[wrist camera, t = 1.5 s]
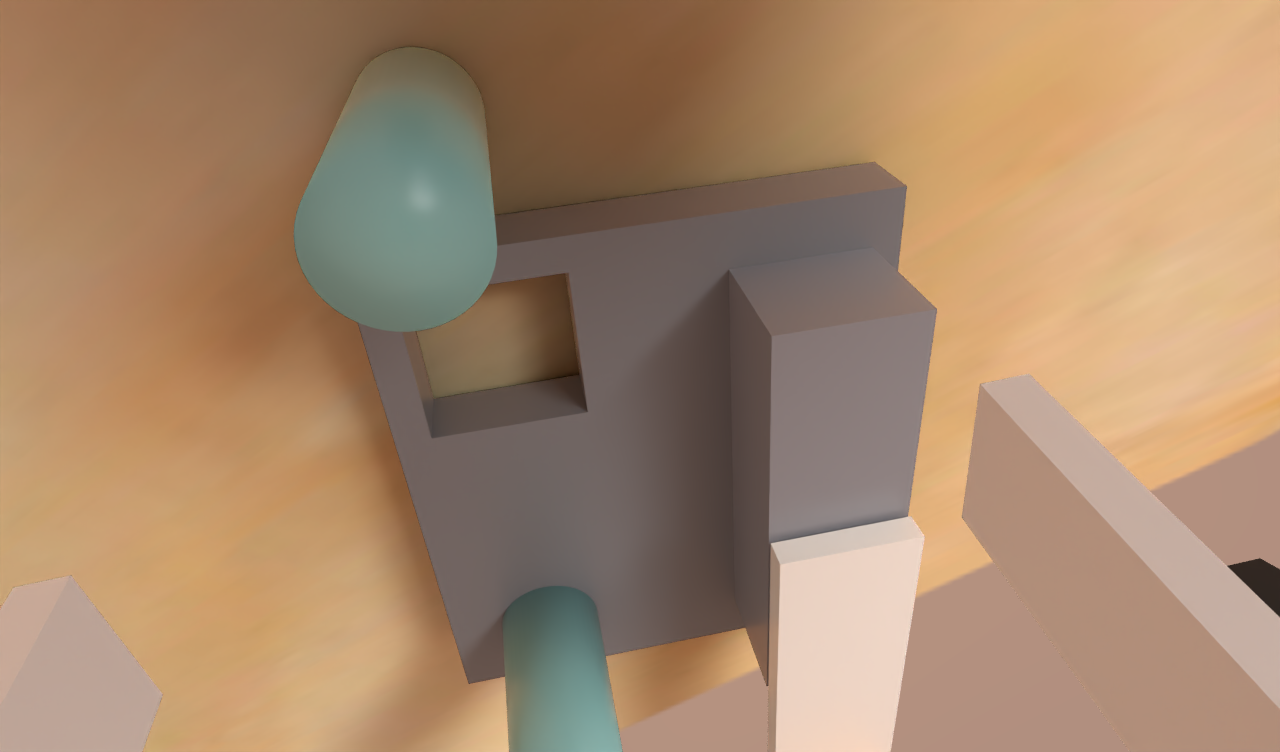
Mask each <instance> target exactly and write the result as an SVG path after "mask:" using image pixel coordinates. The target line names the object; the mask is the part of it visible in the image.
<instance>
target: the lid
mask: <svg viewBox="0 0 1280 752" xmlns="http://www.w3.org/2000/svg"><path fill="white" fill-rule="evenodd" d="M924 538H925V536H924V535H923V533H922V532H921V530H920V529H919V527H918V526H917V524H916V523H915V521H914V520H913V518H912V517H911V516H910V517H905V518H899V519H894V520H889V521H884V522H879V523H874V524H868V525H863V526H858V527H853V528H848V529H842V530H837V531H832V532H827V533H822V534H816V535H811V536H806V537H801V538H796V539H790V540H785V541H780V542H775V543H771V556H770V619H769V681H768V745H767V746H768V747H767V752H890V751H891V745H892V739H893V732H894V726H895V720H896V713H897V707H898V701H899V695H900V688H901V682H902V675H903V670H904V663H905V657H906V651H907V644H908V638H909V632H910V626H911V620H912V619H911V618H912V613H913V606H914V601H915V594H916V588H917V582H918V576H919V569H920V563H921V557H922V551H923V544H924Z"/></svg>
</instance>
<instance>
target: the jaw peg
mask: <svg viewBox="0 0 1280 752" xmlns="http://www.w3.org/2000/svg"><path fill="white" fill-rule="evenodd" d="M294 244H295V251H296V254H297V258H298V262H299V264H300V266H301V269H302V271H303V273H304V275H305V277H306V278H307V280H308V282H309V284H310V285H311V286H312V287H313V289H314V290H315V291H316V293H317V294H318V295H319V296H320V297H321V298H322V299H323V300H324V301H325V302H326V303H327V304H329V305H330V306H331V307H332V308H334V309H335V310H336V311H338V312H339V313H341V314H342V315H344V316H346V317H347V318H349V319H351V320H353V321H356V322H358V323H360V324H363V325H366V326H369V327H372V328H376V329H380V330H386V331H394V332H411V331H421V330H425V329H430V328H434V327H437V326H440V325H443V324H445V323H447V322H449V321H451V320H453V319H455V318H457V317H458V316H460V315H461V314H463V313H464V312H465V311H467V310H468V309H469V308H470V307H471V306H472V305H473V304H474V303H475V302H476V301H477V300H478V299H479V298H480V297H481V295H482V294H483V292H484V291H485V289H486V288H487V286H488V284H489V282H490V280H491V277H492V274H493V271H494V268H495V264H496V258H497V237H496V226H495V215H494V204H493V193H492V182H491V171H490V160H489V149H488V138H487V128H486V117H485V108H484V104H483V100H482V97H481V94H480V92H479V90H478V88H477V86H476V84H475V82H474V81H473V79H472V78H471V77H470V75H469V74H468V73H467V72H466V71H465V70H464V69H463V68H462V67H461V66H460V65H459V64H458V63H456V62H455V61H454V60H452V59H451V58H449V57H447V56H445V55H443V54H441V53H439V52H436V51H433V50H430V49H426V48H420V47H403V48H398V49H393V50H391V51H388V52H385V53H383V54H381V55H379V56H378V57H376V58H375V59H374V60H372V61H371V62H370V63H369V64H368V65H367V66H366V67H365V68H364V69H363V71H362V72H361V73H360V75H359V77H358V78H357V80H356V82H355V84H354V86H353V89H352V91H351V93H350V95H349V97H348V99H347V102H346V104H345V106H344V108H343V110H342V113H341V115H340V117H339V119H338V121H337V123H336V126H335V128H334V130H333V132H332V134H331V136H330V139H329V141H328V143H327V145H326V147H325V149H324V152H323V154H322V156H321V158H320V160H319V163H318V165H317V167H316V169H315V171H314V173H313V176H312V178H311V180H310V182H309V184H308V186H307V189H306V191H305V193H304V195H303V197H302V199H301V202H300V205H299V207H298V210H297V213H296V218H295V223H294Z"/></svg>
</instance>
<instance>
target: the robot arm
mask: <svg viewBox="0 0 1280 752" xmlns="http://www.w3.org/2000/svg"><path fill="white" fill-rule="evenodd" d="M962 518H963V520H964V521H965V523H966V524H967V525H968V527H969V528H970V530H971V531H972V532H973V534H974V535H975V537H976V538H977V539H978V541H979V542H980V544H981V545H982V546H983V548H984V549H985V550H986V552H987V553H988V555H989V556H990V557H991V559H992V560H993V562H994V563H995V564H996V566H997V567H998V569H999V570H1000V571H1001V573H1002V574H1003V576H1004V577H1005V578H1006V580H1007V581H1008V583H1009V584H1010V585H1011V587H1012V588H1013V590H1014V591H1015V592H1016V594H1017V595H1018V597H1019V598H1020V599H1021V601H1022V602H1023V604H1024V605H1025V606H1026V608H1027V609H1028V610H1029V612H1030V613H1031V615H1032V616H1033V618H1034V619H1035V620H1036V622H1037V623H1038V624H1039V626H1040V627H1041V629H1042V630H1043V632H1044V633H1045V634H1046V635H1047V637H1048V638H1049V640H1050V641H1051V643H1052V644H1053V645H1054V647H1055V648H1056V649H1057V651H1058V652H1059V654H1060V655H1061V657H1062V658H1063V659H1064V661H1065V662H1066V664H1067V665H1068V666H1069V668H1070V669H1071V671H1072V672H1073V673H1074V675H1075V676H1076V678H1077V679H1078V680H1079V682H1080V683H1081V685H1082V686H1083V687H1084V689H1085V690H1086V691H1087V693H1088V694H1089V696H1090V697H1091V699H1092V700H1093V701H1094V703H1095V704H1096V705H1097V707H1098V708H1099V710H1100V711H1101V712H1102V714H1103V715H1104V717H1105V718H1106V719H1107V721H1108V722H1109V724H1110V725H1111V726H1112V728H1113V729H1114V731H1115V732H1116V733H1117V735H1118V736H1119V737H1120V739H1121V740H1122V742H1123V743H1124V745H1125V746H1126V747H1127V749H1128V750H1129V751H1130V752H1280V569H1278V568H1276V567H1275V566H1273V565H1271V564H1269V563H1267V562H1266V561H1264V560H1262V559H1255V560H1251V561H1247V562H1242V563H1238V564H1234V565H1230V566H1226V565H1225V564H1224V563H1223V562H1222V561H1221V560H1220V559H1219V558H1218V557H1217V556H1216V555H1215V554H1214V553H1213V552H1212V551H1211V550H1210V549H1209V548H1208V547H1207V546H1206V545H1205V544H1204V543H1203V542H1202V541H1201V540H1199V538H1197V537H1196V536H1195V535H1194V534H1193V533H1192V532H1191V531H1190V530H1189V529H1188V528H1187V527H1186V526H1185V525H1184V524H1183V523H1182V522H1181V521H1180V520H1179V519H1178V518H1177V517H1176V516H1175V515H1174V514H1173V513H1172V512H1171V511H1170V510H1169V509H1168V508H1167V507H1166V506H1164V505H1163V504H1162V503H1161V502H1160V501H1159V500H1158V499H1157V498H1156V497H1155V496H1154V495H1153V494H1152V493H1151V492H1150V491H1149V490H1148V489H1147V488H1146V487H1145V486H1144V485H1143V484H1142V483H1141V482H1140V481H1139V480H1138V479H1137V478H1136V477H1135V476H1134V475H1133V474H1132V473H1131V472H1130V471H1128V470H1127V469H1126V468H1125V467H1124V466H1123V465H1122V464H1121V463H1120V462H1119V461H1118V460H1117V459H1116V458H1115V457H1114V456H1113V455H1112V454H1111V453H1110V452H1109V451H1108V450H1107V449H1106V448H1105V447H1104V446H1103V445H1102V444H1101V443H1100V442H1099V441H1098V440H1097V439H1096V438H1094V437H1093V436H1092V435H1091V434H1090V433H1089V432H1088V431H1087V430H1086V429H1085V428H1084V427H1083V426H1082V425H1081V424H1080V423H1079V422H1078V421H1077V420H1076V419H1075V418H1074V417H1073V416H1072V415H1071V414H1070V413H1069V412H1068V411H1067V410H1066V409H1065V408H1064V407H1063V406H1062V405H1060V404H1059V403H1058V402H1057V401H1056V400H1055V399H1054V398H1053V397H1052V396H1051V395H1050V394H1049V393H1048V392H1047V391H1046V390H1045V389H1044V388H1043V387H1042V386H1041V385H1040V384H1039V383H1038V382H1037V381H1036V380H1035V379H1034V378H1033V377H1032V376H1031V375H1030V374H1026V375H1021V376H1016V377H1011V378H1007V379H1002V380H997V381H992V382H988V383H983V384H980V388H979V395H978V403H977V410H976V417H975V424H974V432H973V439H972V446H971V454H970V461H969V468H968V475H967V483H966V490H965V497H964V505H963V512H962ZM162 696H163V694H162V693H161V691H160V690H159V689H158V687H157V686H156V685H155V684H154V682H153V681H152V680H151V678H150V677H149V676H148V674H147V673H146V672H145V671H144V669H143V668H142V667H141V665H140V664H139V663H138V661H137V660H136V659H135V658H134V656H133V655H132V654H131V652H130V651H129V650H128V649H127V647H126V646H125V645H124V643H123V642H122V641H121V639H120V638H119V637H118V636H117V634H116V633H115V632H114V630H113V629H112V628H111V626H110V625H109V624H108V623H107V621H106V620H105V619H104V617H103V616H102V615H101V614H100V612H99V611H98V610H97V608H96V607H95V606H94V604H93V603H92V602H91V601H90V599H89V598H88V597H87V595H86V594H85V593H84V591H83V590H82V589H81V588H80V586H79V585H78V584H77V582H76V581H75V580H74V578H73V577H72V576H71V575H70V576H65V577H60V578H56V579H51V580H46V581H41V582H37V583H32V584H27V585H22V586H18V587H13V589H12V590H11V592H10V594H9V595H8V597H7V599H6V600H5V602H4V604H3V605H2V607H1V609H0V752H143V749H144V746H145V743H146V740H147V738H148V735H149V732H150V729H151V727H152V724H153V721H154V718H155V715H156V713H157V710H158V707H159V704H160V701H161V699H162Z"/></svg>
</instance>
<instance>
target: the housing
mask: <svg viewBox="0 0 1280 752" xmlns="http://www.w3.org/2000/svg"><path fill="white" fill-rule="evenodd" d="M906 189H907V186H906V185H905V184H903V183H902V182H901V181H899V180H898V179H897V178H895V177H894V176H893V175H891V174H890V173H889V172H887V171H886V170H885V169H883V168H882V167H881V166H879V165H878V164H877V163H875V162H871V163H864V164H857V165H850V166H843V167H836V168H829V169H822V170H815V171H808V172H801V173H793V174H786V175H779V176H772V177H765V178H758V179H751V180H744V181H737V182H730V183H723V184H716V185H709V186H702V187H694V188H687V189H680V190H673V191H666V192H659V193H652V194H645V195H638V196H631V197H624V198H617V199H610V200H603V201H595V202H588V203H581V204H574V205H567V206H560V207H553V208H546V209H539V210H532V211H525V212H518V213H511V214H504V215H496V216H495V226H496V237H497V258H496V264H495V268H494V271H493V274H492V277H491V280H490V282H489V284H496V283H503V282H509V281H516V280H522V279H529V278H536V277H542V276H549V275H556V274H562V273H565V276H566V283H567V290H568V297H569V304H570V311H571V318H572V325H573V332H574V340H575V347H576V354H577V361H578V368H579V375H575V376H569V377H563V378H557V379H551V380H545V381H539V382H533V383H527V384H521V385H515V386H509V387H503V388H497V389H490V390H484V391H478V392H472V393H466V394H460V395H454V396H448V397H442V398H436V399H434V398H433V394H432V391H431V387H430V383H429V379H428V375H427V372H426V368H425V364H424V360H423V356H422V353H421V349H420V345H419V341H418V338H417V334H416V331H411V332H394V331H386V330H380V329H376V328H372V327H369V326H366V325H363V324H360V323H358V326H359V329H360V332H361V335H362V339H363V342H364V345H365V348H366V352H367V355H368V358H369V361H370V365H371V368H372V371H373V374H374V378H375V381H376V384H377V387H378V391H379V394H380V397H381V400H382V404H383V407H384V410H385V413H386V417H387V420H388V423H389V426H390V430H391V433H392V436H393V439H394V443H395V446H396V449H397V452H398V456H399V459H400V462H401V465H402V469H403V472H404V475H405V478H406V482H407V485H408V488H409V491H410V495H411V498H412V501H413V504H414V507H415V511H416V514H417V517H418V520H419V524H420V527H421V530H422V533H423V537H424V540H425V543H426V546H427V550H428V553H429V556H430V559H431V563H432V566H433V569H434V572H435V576H436V579H437V582H438V585H439V589H440V592H441V595H442V598H443V602H444V605H445V608H446V611H447V615H448V618H449V621H450V624H451V628H452V631H453V634H454V637H455V641H456V644H457V647H458V650H459V654H460V657H461V660H462V663H463V667H464V670H465V673H466V676H467V680H468V683H469V684H470V683H475V682H480V681H485V680H490V679H495V678H500V677H505V684H506V703H507V722H508V741H509V752H623V751H622V745H621V739H620V734H619V728H618V723H617V717H616V711H615V706H614V700H613V695H612V689H611V683H610V678H609V672H608V667H607V661H606V656H608V655H613V654H618V653H623V652H628V651H633V650H637V649H642V648H647V647H652V646H657V645H662V644H667V643H672V642H677V641H682V640H687V639H691V638H696V637H701V636H706V635H711V634H716V633H721V632H726V631H731V630H736V629H741V628H746V631H747V634H748V636H749V639H750V642H751V645H752V647H753V650H754V653H755V655H756V658H757V661H758V664H759V666H760V669H761V672H762V675H763V677H764V680H765V683H766V686H768V681H769V619H770V556H771V543H775V542H780V541H785V540H790V539H796V538H801V537H806V536H811V535H816V534H822V533H827V532H832V531H837V530H842V529H848V528H853V527H858V526H863V525H868V524H874V523H879V522H884V521H889V520H894V519H899V518H905V517H908V512H909V505H910V498H911V490H912V483H913V476H914V469H915V462H916V455H917V448H918V441H919V434H920V427H921V420H922V412H923V405H924V398H925V391H926V384H927V377H928V370H929V363H930V356H931V349H932V342H933V335H934V327H935V320H936V313H937V309H936V308H935V307H934V306H933V305H932V304H931V303H930V302H929V301H928V300H927V299H926V298H925V297H924V296H923V295H922V294H921V293H920V292H919V291H918V290H917V289H916V288H915V287H913V286H912V285H911V284H910V283H909V282H908V281H907V280H906V279H905V278H904V277H903V276H902V275H901V274H900V273H899V272H898V264H899V254H900V245H901V236H902V227H903V217H904V208H905V199H906ZM489 284H488V285H489Z"/></svg>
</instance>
